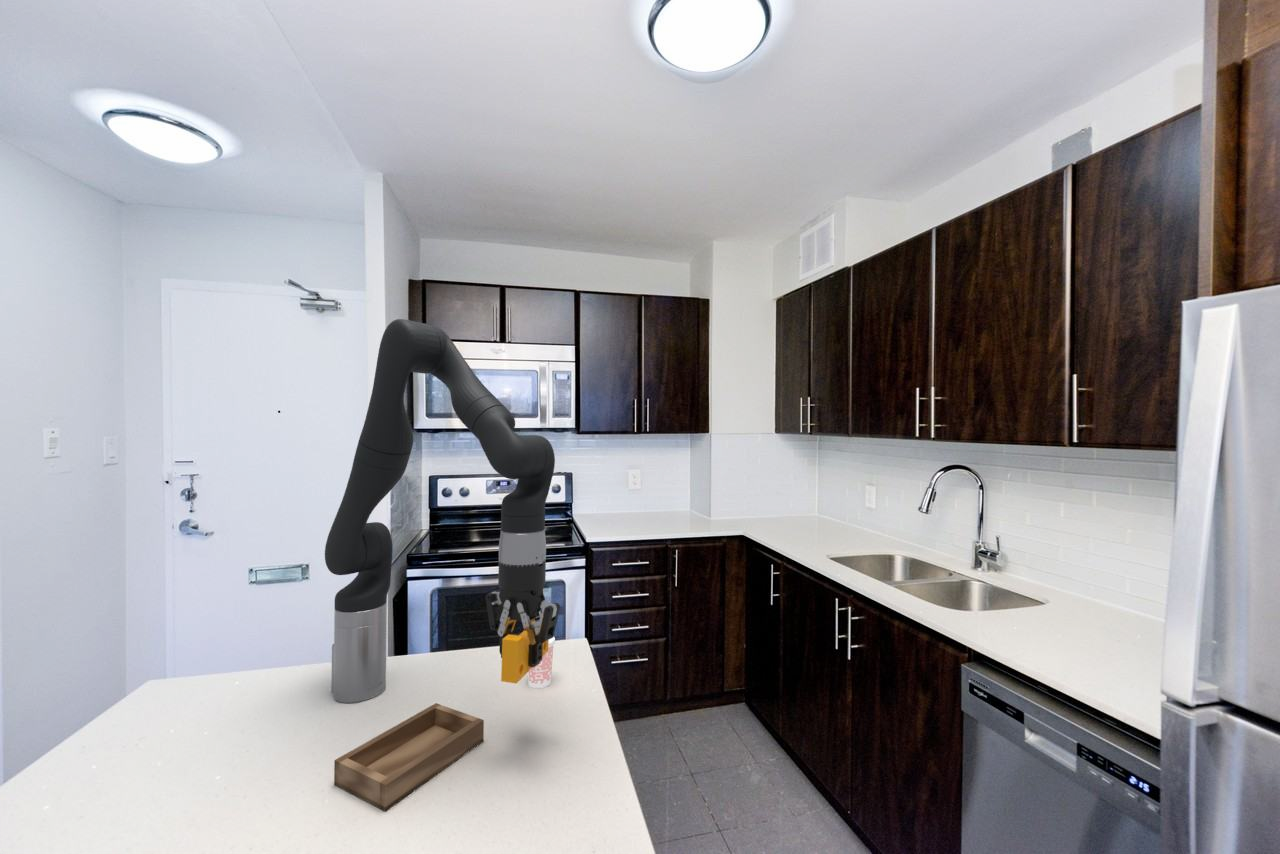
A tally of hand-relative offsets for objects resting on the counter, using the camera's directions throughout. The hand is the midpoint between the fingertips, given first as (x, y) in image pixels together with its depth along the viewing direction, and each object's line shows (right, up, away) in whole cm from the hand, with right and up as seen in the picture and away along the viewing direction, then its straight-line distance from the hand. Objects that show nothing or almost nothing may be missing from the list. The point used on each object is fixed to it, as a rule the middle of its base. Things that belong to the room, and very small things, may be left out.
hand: (520, 660), depth 85 cm
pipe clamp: (0, -1, 0) cm, 1 cm away
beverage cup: (-1, -15, +23) cm, 28 cm away
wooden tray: (-16, -15, -3) cm, 22 cm away
